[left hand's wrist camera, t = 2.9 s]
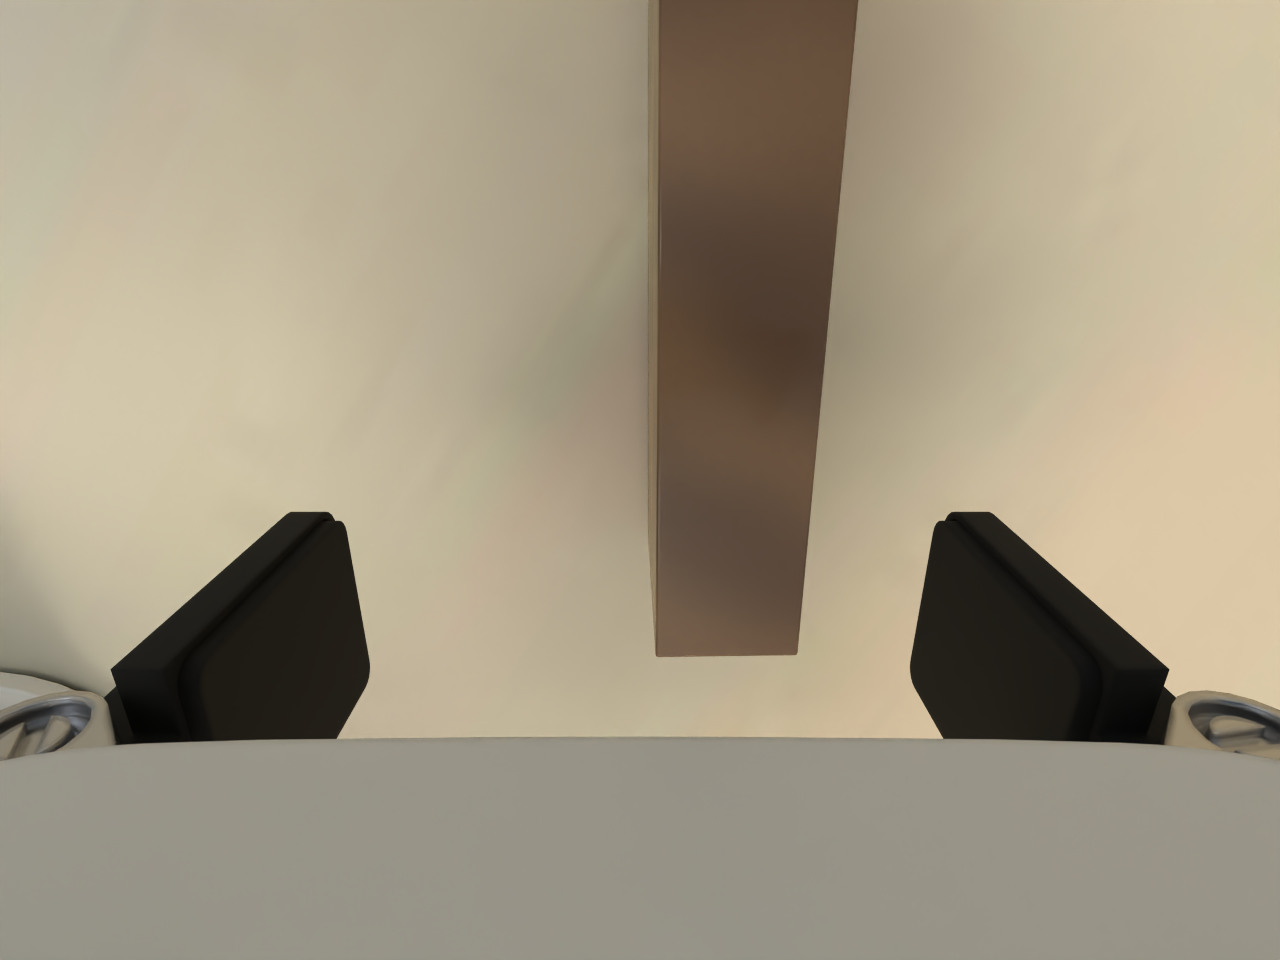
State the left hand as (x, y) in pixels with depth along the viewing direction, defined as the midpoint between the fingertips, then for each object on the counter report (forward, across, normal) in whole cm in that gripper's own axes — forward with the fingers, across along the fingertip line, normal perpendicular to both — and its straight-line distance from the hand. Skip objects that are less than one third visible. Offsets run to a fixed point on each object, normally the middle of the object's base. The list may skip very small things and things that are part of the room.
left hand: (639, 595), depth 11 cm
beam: (+15, -2, -26) cm, 30 cm away
